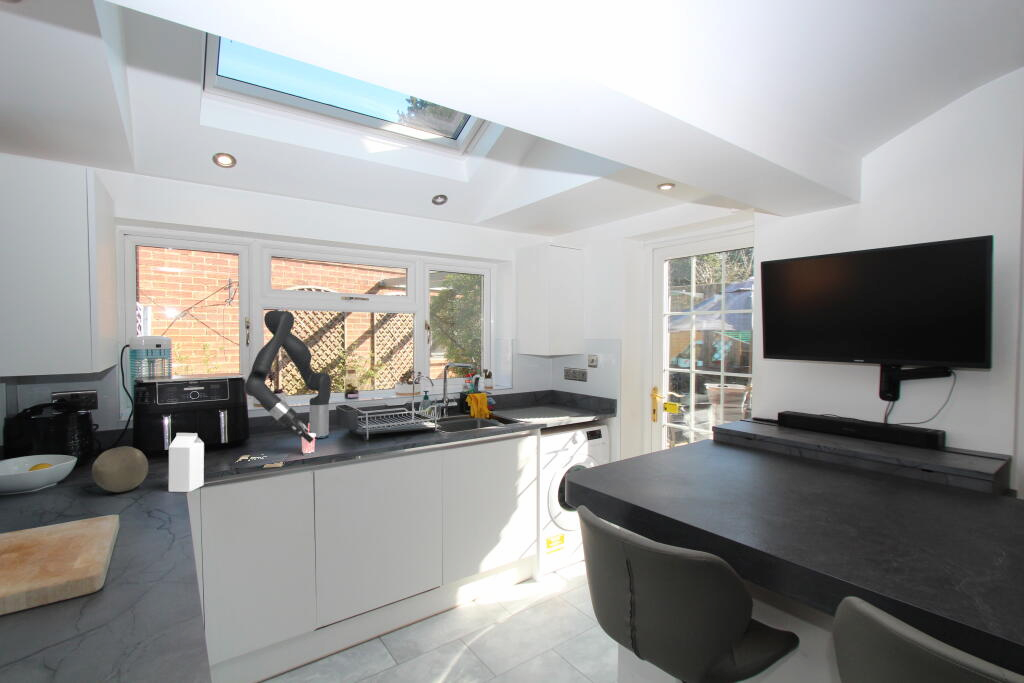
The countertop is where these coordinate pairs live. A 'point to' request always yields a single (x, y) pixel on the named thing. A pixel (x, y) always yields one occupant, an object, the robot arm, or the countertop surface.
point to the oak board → (262, 458)
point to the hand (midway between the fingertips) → (312, 439)
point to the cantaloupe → (120, 469)
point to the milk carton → (186, 463)
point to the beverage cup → (306, 445)
